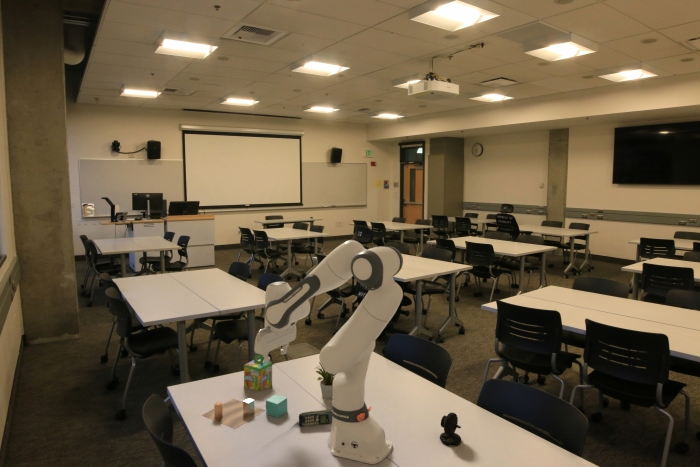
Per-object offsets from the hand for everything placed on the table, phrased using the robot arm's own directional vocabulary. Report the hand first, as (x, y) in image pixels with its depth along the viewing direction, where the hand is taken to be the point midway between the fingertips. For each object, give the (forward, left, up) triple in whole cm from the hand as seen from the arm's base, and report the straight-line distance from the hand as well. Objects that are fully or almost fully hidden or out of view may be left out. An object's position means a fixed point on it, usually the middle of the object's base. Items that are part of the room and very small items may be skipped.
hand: (275, 357), depth 172 cm
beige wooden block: (+9, +6, -22) cm, 24 cm away
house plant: (-8, -23, -24) cm, 34 cm away
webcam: (-63, -20, -24) cm, 70 cm away
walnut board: (+14, +9, -24) cm, 29 cm away
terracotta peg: (+17, +14, -22) cm, 31 cm away
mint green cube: (0, 0, -24) cm, 24 cm away
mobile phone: (-17, -4, -24) cm, 30 cm away
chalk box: (+23, -14, -24) cm, 36 cm away
